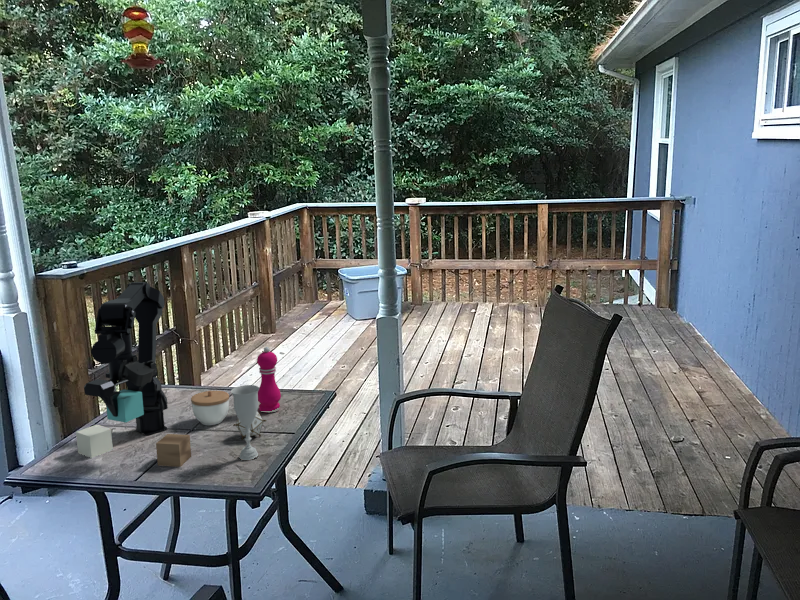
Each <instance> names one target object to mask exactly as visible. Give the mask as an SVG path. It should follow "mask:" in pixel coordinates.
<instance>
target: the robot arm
mask: <svg viewBox="0 0 800 600" xmlns="http://www.w3.org/2000/svg"><path fill="white" fill-rule="evenodd" d="M164 308H165V298H164V296H163V294H162V293H161V291H160V289H157V288H154V287H152V286H151V285H150V283H149V282H146V281H136V282H133V281H132V282H130V283H128V284H127V288H125V289H124V290H123V291H122V292H121V293H120V294H119V295H118V297H117V298H115V299H111V300H107V301H105V302H103V303H101V305H100V307H99V308H98V310H97V314H96V315H97V316H96V319H95V321H96V322H95V326H94V327H95V328H94V335H98V334H99V335H98V340H97V341H95V343H93V345H92V347H91V349H90V353H91V356H92V359H93V360H95V361H96V362H97V363H99V364H103V365H106V364H107V365H108V372H106V373H105V378H106V379H107V378H108V379H109V380H106V379H99V378H97V379H95V380H92V381H88V382H87V383H86V384H84V386H83V390H84V392H83V393H84V395H86V396H89V397H90V396H91V397H96V398H100V399H101V400H102V401H103V403H104V404H105V406H107V407H108V409H109V410H110V412H111V413H112V415H113V416H114V417H117V416H118V402H117V397H118V395H119V394H120V392H119V391H120V390H117V386H119V385H122V384H126V385H125V386H126V388H127V389H126V390H132V391H139V392H142V399H143V410H144V415H142V416H139V417H137V418H135V423H136V428H135V431H137V432H139V433H141V434H142V435H144V436H150V435H153V434H156V433H161V432H163V431H166V430H168V427H167V426H166V425H165V419H164V411H165V410H168V407H169V406H168V403H169V402H168V397H167V396H166V394H165V392H164V391H163V389H162V383H161V381H160V380H159V379H158V375H159V374H158V368H157V360H156V359H157V358H156V357H157V355H156V354H157V323H158V321H160V319H161V318H162V316H163V309H164ZM135 321H137V323H138V334H137V335H138V338H137V339H138V340H137V341H138V344H137V347H138V348H137V350H138V351H137V353H138V354H133V343H132V333H131V330H132V329H133V327H134V322H135ZM137 355H138V356H137Z"/></svg>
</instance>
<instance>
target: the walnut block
mask: <svg viewBox="0 0 800 600" xmlns="http://www.w3.org/2000/svg"><path fill="white" fill-rule="evenodd" d="M191 445H192V444H191V436H190V434H177V433H176V434H175V433H167V434H166V435H164V436H163V437H162V438H160V439H159V440H158V441H157V442H156V443H155V446H156V447H155V448H156V459H157V466H159V467H173V468H174V467H175V468H181V467H182V466H183V465H184V464H185V463H186V462H187V461H189V460H190V459H191V458H192V448H191Z"/></svg>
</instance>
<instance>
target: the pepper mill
mask: <svg viewBox="0 0 800 600" xmlns="http://www.w3.org/2000/svg"><path fill="white" fill-rule="evenodd" d="M277 363H278V357H277V355H276V353H275V352H273V351H271V350H270V348H269V347H268V346H265V347H264V348H263V351H262V352H261V353H259V354H258V356H257V360H256V364H257V365H258V366H259V369H258V370H259V371H258V372H259V374H260V376H261V378H260V379H261V381H260V384H259V386H258V387H259V390H258V403H259V404H258V411H259V410H260V411H272V410H275V409H277V408H279V407H280V408H281V404H280V402H279V401H280V400H281V399H282V395H281V394H282V393H281V390H280V387H279V386H278V384H277V382H276V379H275V378H276V377H275V375H276V373H277V367H276V365H277ZM260 411H259V412H260Z"/></svg>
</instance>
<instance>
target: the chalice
mask: <svg viewBox="0 0 800 600" xmlns="http://www.w3.org/2000/svg"><path fill="white" fill-rule="evenodd" d="M259 387H260V386H258V385H254V384H253V385H252V384H251V385H250V384H244V385H239V386H236V387H233V388H232V389H231V390H230V393H232V396H233V397H232V398H233V410H234V413H235V415H236V417H237V419H239V420H240V422H241V424H242V425H245V427H246V429H245V432H244V433H245V434H246V437H244V441H245V442H246V443H245V444H246V445H245V446H244V447H243V448H242V449H241V452H240V453H239V456H240V457H238V459H239V458H240V459H243V460H250V459H254V458H255V457H257V456H258V454H259V453H258V451H257V448H256V447H254V446H252V445H251V440H252V439H253V438H252V436H250V432H251V431H250V429H249V425H250V424H252V423H253V421H254V418H255V416H256V413H257V411H259V401H258V390H259ZM240 459H239V460H240Z"/></svg>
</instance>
